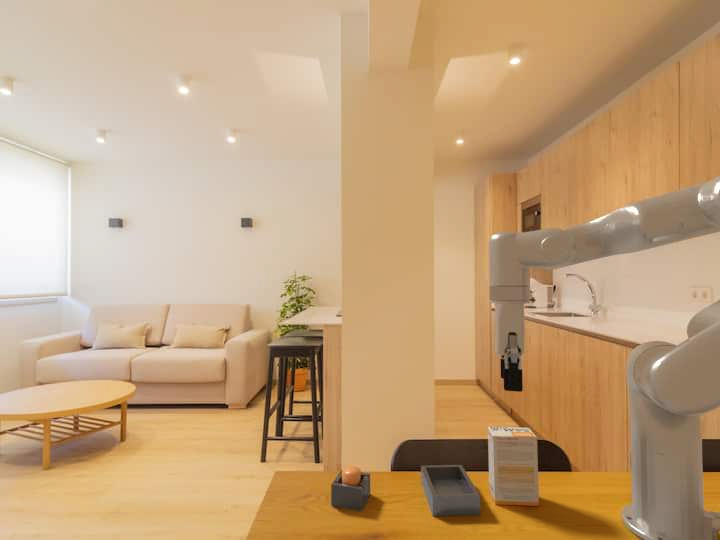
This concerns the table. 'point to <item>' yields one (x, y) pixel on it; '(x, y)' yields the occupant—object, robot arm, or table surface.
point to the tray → (449, 490)
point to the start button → (351, 476)
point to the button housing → (350, 493)
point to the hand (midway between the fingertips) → (510, 384)
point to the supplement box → (513, 466)
